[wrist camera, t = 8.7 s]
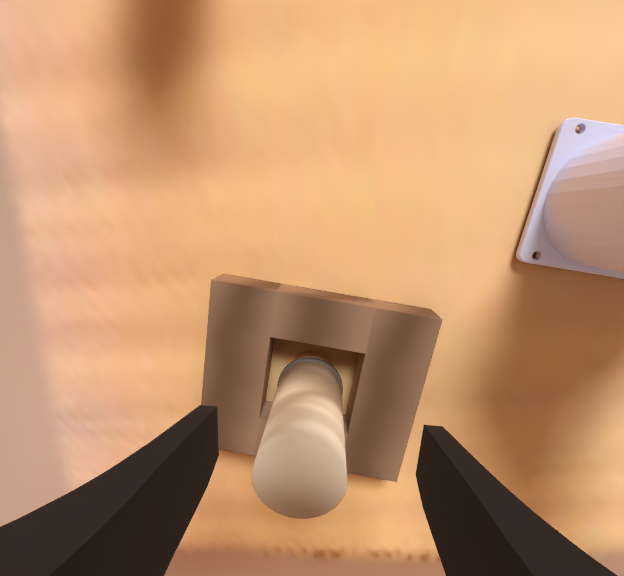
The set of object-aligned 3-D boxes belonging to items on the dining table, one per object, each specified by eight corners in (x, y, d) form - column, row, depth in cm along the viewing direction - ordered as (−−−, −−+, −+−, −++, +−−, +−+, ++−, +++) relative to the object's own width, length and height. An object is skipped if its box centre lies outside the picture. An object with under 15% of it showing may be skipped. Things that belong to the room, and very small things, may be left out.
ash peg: (339, 342, 20) (345, 435, 12) (343, 396, 21) (352, 519, 13) (279, 345, 21) (243, 439, 12) (286, 398, 22) (256, 520, 13)
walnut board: (431, 309, 19) (442, 319, 18) (390, 458, 22) (396, 481, 20) (222, 273, 20) (211, 280, 18) (209, 425, 23) (198, 445, 21)
